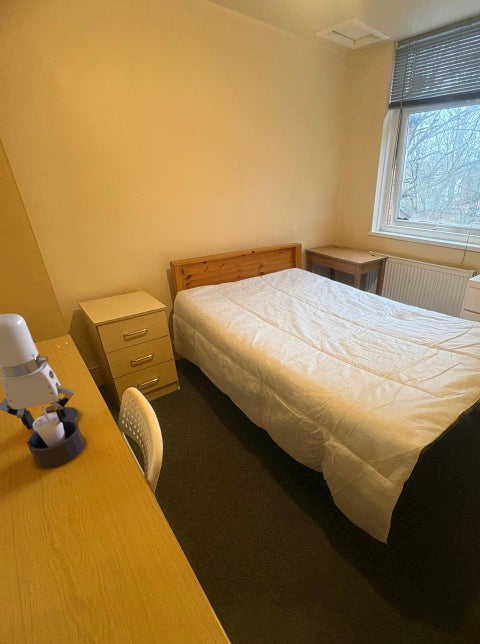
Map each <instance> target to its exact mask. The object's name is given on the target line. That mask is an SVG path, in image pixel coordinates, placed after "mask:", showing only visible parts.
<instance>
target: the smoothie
mask: <svg viewBox="0 0 480 644" xmlns="http://www.w3.org/2000/svg"><path fill="white" fill-rule="evenodd" d="M45 409H46V408H45V407H44V406H42V407H41V411H42V414H41V415H42V416H41V415H39V416H38V417H39V418H38V417H37V418H36V419H34V422H33V424H32V427H33V429H34V430H35V431H37V432H38V434H39V435H40V436H41V438H42V439H43V441H44V442H45V443H46V445H47V446H48V447H53V446H55V445H58V444H60V443H62V442H64V441H65V440H66V438H65V433H64V429H63V424H62V423H61V422H60V420H59V418H58V415H57V413H56V412H53V413H48V414H47V413H46V411H45ZM43 414H44V415H43Z"/></svg>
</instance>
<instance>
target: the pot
mask: <svg viewBox="0 0 480 644" xmlns="http://www.w3.org/2000/svg"><path fill="white" fill-rule="evenodd" d="M62 424H63V429H64V433H65V438H66V440H65V441H64V442H62V443H60V444H58V445H55V446H53V447H48V446H47V445H46V443H45V442H44V441H43V439H42V438H41V436H40V435H39V434H38V432H37V431H35V432H34V433H33V432H32V434H31V435H30V436H29V437H28V438H27V442H26V444H27V448H28V450H29V452H30V454H31V456H32V458H33V460H34V461H35V463H36V464H37V466H38V467H40V468H44V469H52V468H57V467H61V466H63V465H66V464H68V463H69V462H71V461H73V460H74V459H76V458H77V457H78V456H79V455H80V454H81V453H82V451H83V450H84V448H85V446H86V443H85V439H84V437H83V434H82V432H81V429H80V427H79V424H78V423H77V421H72V420H65V421H64V422H62Z"/></svg>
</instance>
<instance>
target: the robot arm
mask: <svg viewBox="0 0 480 644" xmlns="http://www.w3.org/2000/svg"><path fill="white" fill-rule="evenodd" d="M48 362H49V358H48V356H41V354H40V353H39V351H38V349H37V346H36V344H35V342H34V339H33V337H32V335H31V332H30V330H29V327H28V325H27V323H26V321H25V319H24V318H23V316H21V315H20V314H16V313H4V314H3V313H0V371H1V373H0V383H1V387H2V390H3V394H4V396H5V397H4V398H3V400H2V401H1V402H0V411H3V412H5V413H7V414H9V415H12V416H16V418H17V419H20V420H21V423H22V424H23V426H24V427H26V429H27V430H28V431H29V430H31V429H32V424H33V422H34V421H35V418H34V417H33V415H32V412H31V410H29V408H35V407H39V406H44V405H45V406H46V405H49V404H50V405H51V406H54V407H55V408H56V409H57V410H56V413H57V415H58V418H59V420H60V422H61V423H62V422H64V421H65V418H66V417H67V415H68V414H67V411H66V408H65V407H66V405H67V404H68V402H69V401H70V399H71V398H73V396H74V394H75V390H73V389H71V388H68V387H65V386H62V385H61V383H60V381H59V379H58V377H57V375H56V373H55V372H54V371H53V369H52V367H51V366H50V365H49V364H48ZM60 394H62V395H64V396H63V397H61V396H60Z"/></svg>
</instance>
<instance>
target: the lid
mask: <svg viewBox="0 0 480 644" xmlns="http://www.w3.org/2000/svg"><path fill="white" fill-rule="evenodd" d="M65 408H66V411H67V414H68V415H67V417H66V418H65V420H72V421H75V422H77V420H78V419H79V415H80V414H79V410H78V409H77V408H75V407H72V406H65ZM44 409H45V411H46V413H47V414H48V413H53V412H56V410H57V408H55V407H54V406H53V405H49V406H47V407H46V408H44ZM42 415H44V413H42V414H41V415H40V416H42ZM40 416H38V417H37V418H39V417H40ZM30 430H31V432H32V434H33V433H34V432H35V430H34V429H33V427H32V429H30Z"/></svg>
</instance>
